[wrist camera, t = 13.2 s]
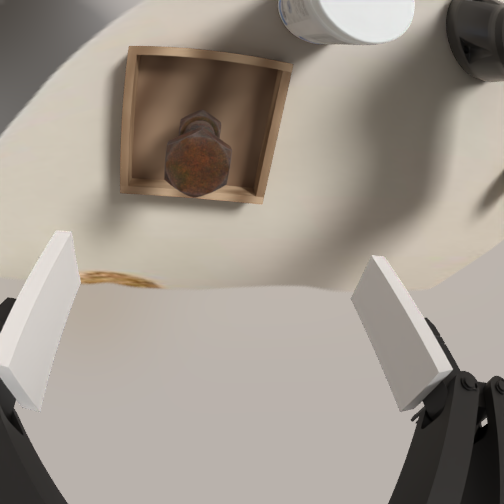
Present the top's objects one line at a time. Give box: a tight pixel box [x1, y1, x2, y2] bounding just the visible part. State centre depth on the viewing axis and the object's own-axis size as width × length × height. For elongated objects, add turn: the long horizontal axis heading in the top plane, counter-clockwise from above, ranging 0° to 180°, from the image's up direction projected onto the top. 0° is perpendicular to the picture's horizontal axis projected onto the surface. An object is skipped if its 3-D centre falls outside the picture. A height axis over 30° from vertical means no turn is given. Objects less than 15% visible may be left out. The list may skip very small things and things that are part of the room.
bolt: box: [164, 109, 232, 198], centre depth 30 cm, size 6×5×15 cm
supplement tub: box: [278, 0, 414, 45], centre depth 23 cm, size 10×10×15 cm
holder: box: [120, 46, 293, 204], centre depth 35 cm, size 18×18×4 cm
